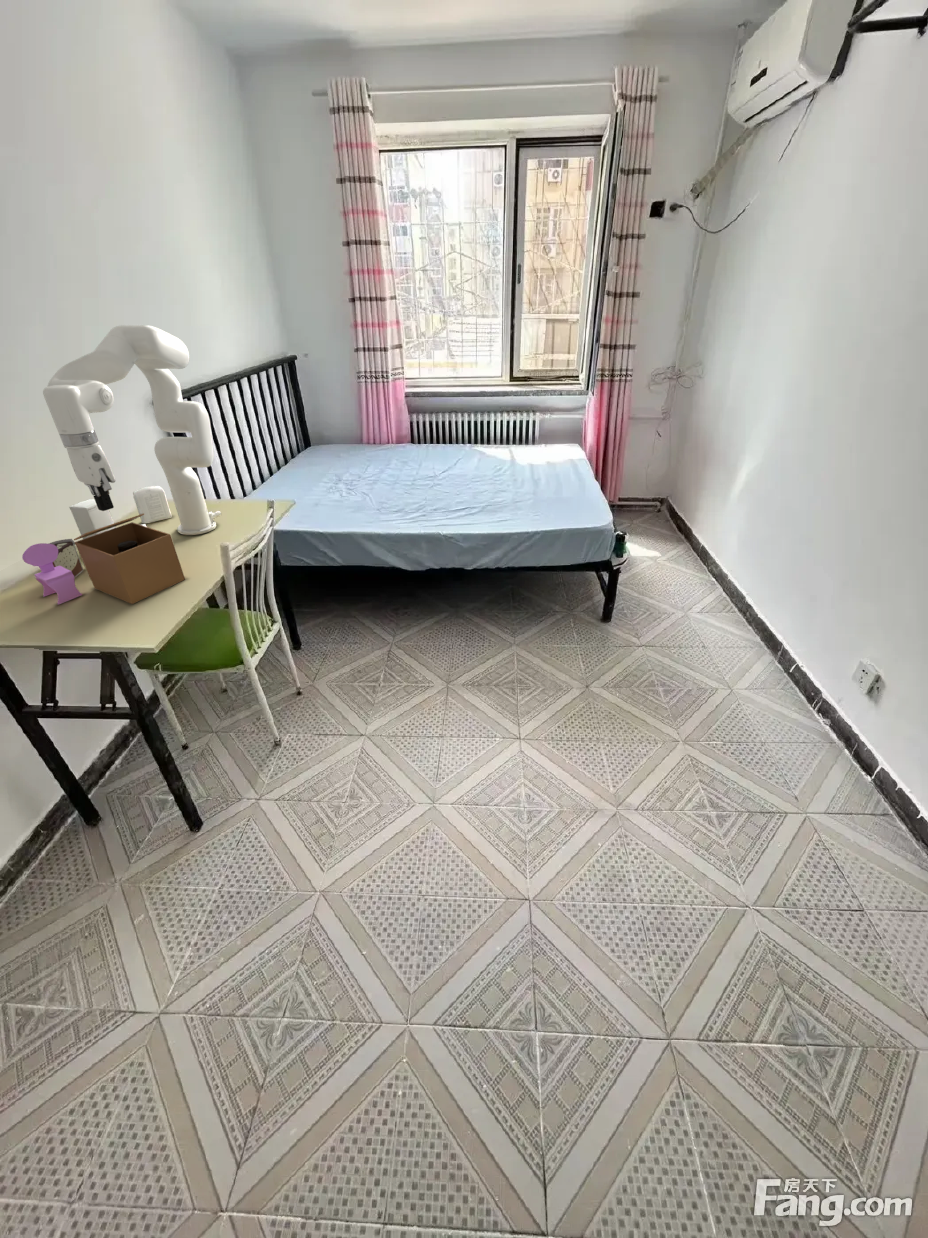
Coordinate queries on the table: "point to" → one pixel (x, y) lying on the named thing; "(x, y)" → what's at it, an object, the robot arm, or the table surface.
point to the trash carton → (131, 562)
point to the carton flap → (107, 527)
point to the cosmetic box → (90, 517)
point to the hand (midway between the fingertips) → (106, 508)
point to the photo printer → (152, 504)
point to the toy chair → (51, 572)
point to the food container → (67, 556)
